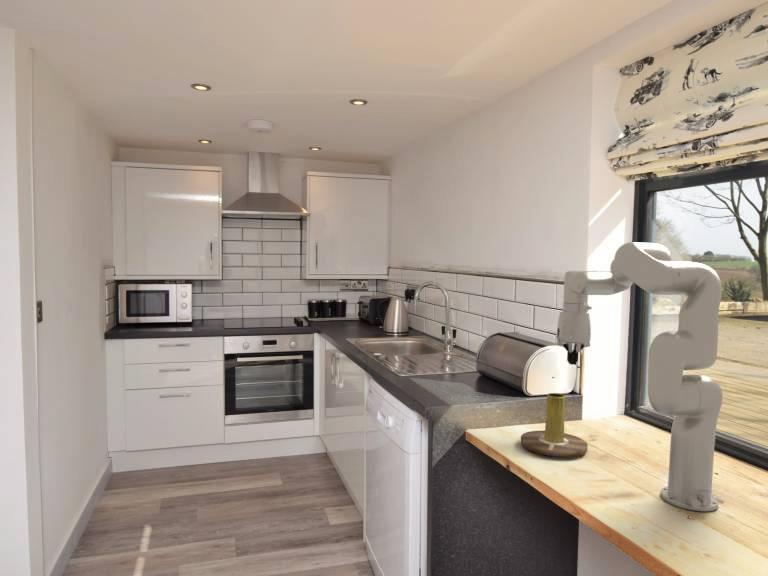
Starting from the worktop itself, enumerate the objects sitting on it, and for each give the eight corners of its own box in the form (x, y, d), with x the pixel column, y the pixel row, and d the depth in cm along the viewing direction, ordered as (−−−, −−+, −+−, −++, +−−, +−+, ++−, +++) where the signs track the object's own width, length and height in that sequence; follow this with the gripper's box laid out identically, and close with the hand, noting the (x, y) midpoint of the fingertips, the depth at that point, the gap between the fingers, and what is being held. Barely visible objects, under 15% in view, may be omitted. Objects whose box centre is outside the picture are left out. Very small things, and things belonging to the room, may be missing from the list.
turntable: (591, 459, 162) (593, 434, 162) (521, 452, 166) (522, 428, 166) (581, 436, 184) (582, 413, 184) (519, 430, 189) (520, 408, 188)
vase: (544, 442, 172) (546, 396, 171) (543, 436, 178) (545, 392, 177) (565, 444, 170) (567, 398, 169) (563, 438, 176) (565, 393, 175)
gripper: (593, 308, 186) (590, 362, 187) (548, 306, 186) (546, 361, 187) (602, 310, 179) (599, 366, 180) (555, 308, 179) (553, 365, 180)
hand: (572, 363), depth 183 cm, fingers closed
